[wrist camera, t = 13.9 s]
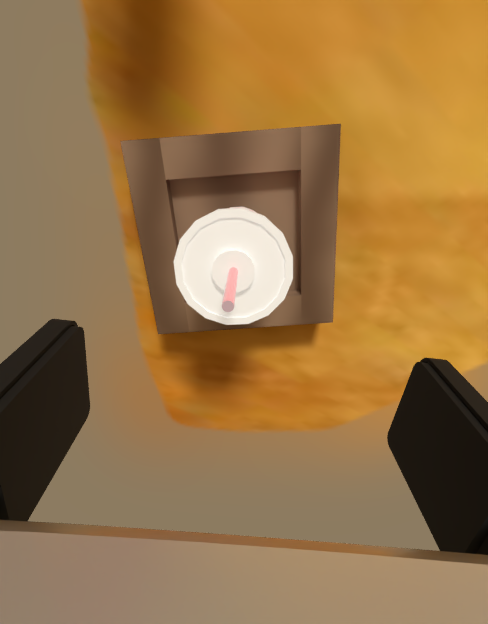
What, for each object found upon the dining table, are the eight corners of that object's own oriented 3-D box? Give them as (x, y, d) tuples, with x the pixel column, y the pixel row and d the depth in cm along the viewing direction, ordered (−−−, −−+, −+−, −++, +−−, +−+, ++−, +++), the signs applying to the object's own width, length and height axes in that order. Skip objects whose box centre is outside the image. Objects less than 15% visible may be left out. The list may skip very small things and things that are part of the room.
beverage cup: (269, 185, 25) (292, 203, 12) (287, 267, 27) (322, 358, 14) (187, 207, 25) (121, 247, 12) (210, 286, 28) (176, 389, 15)
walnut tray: (325, 127, 26) (340, 123, 22) (321, 301, 32) (332, 322, 28) (137, 142, 26) (120, 141, 22) (168, 312, 32) (158, 334, 28)
